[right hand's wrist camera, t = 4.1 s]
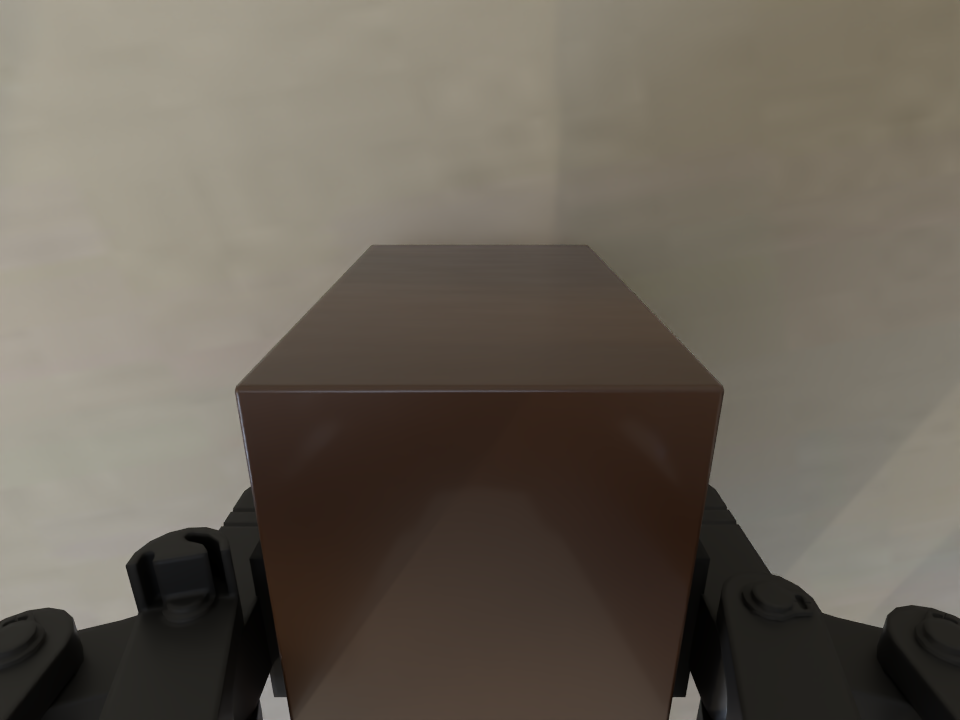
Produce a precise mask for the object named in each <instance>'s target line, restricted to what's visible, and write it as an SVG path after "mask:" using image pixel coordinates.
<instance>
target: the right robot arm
mask: <svg viewBox="0 0 960 720" xmlns="http://www.w3.org/2000/svg"><path fill="white" fill-rule="evenodd" d="M126 569H127V573H128V576H129V580H130V583H131V587H132V591H133V594H134V598H135V601H136V605H137V609H138V612H139V613H138V615H137V616H134V617H131V618H127V619H124V620H121V621H116V622H112V623H108V624H104V625H99V626H95V627H91V628H87V629H82V630H78V631H77V628H76V625H75V622H74V619H73V617H71V616H70V615H69V614H68V613H67V612H66V611H65V610H60V609H54V608H43V609H36V610H29V611H25V612H23V613H20V614H17V615H14V616H11V617H8V618H6V619H4V620H2V621H0V720H263V717H262V710H261V704H260V696H261V694H262V691H263V688H264V686H265V683H266V681H267V678H268V676H269V673H270V677H271V682H272V688H273V693H274V697H287V695H286V689H285V683H284V677H283V672H282V666H281V660H280V654H279V648H278V642H277V636H276V630H275V624H274V618H273V613H272V607H271V601H270V595H269V589H268V583H267V577H266V571H265V565H264V559H263V554H262V548H261V542H260V536H259V530H258V524H257V518H256V512H255V506H254V500H253V495H252V489H251V487H250V488H248V489H247V490H246V491H244V493H243V494H242V496H241V497H240V499H239V500H238V502H237V503H236V505H235V506H234V508H233V512H231V513H230V514H229V516H228V517H227V519H226V520H225V522H224V526H223V527H221V528H220V529H219V530H215V529H211V528H207V527H199V528H186V529H182V530H178V531H174V532H170V533H167V534H165V535H163V536H161V537H159V538H156V539H154V540H152V541H150V542H149V543H147V544H146V545H145V546H143V547H142V548H141V549H139V550H138V551H137V552H135V553H134V555H133V556H132V557H131V559H130V560H129V562H128V563H127V564H126ZM690 671H691V674H692V676H693V679H694V681H695V684H696V687H697V689H698V692H699V694H700V697H701V699H700V704H699V709H698V715H697V720H960V619H959V618H958V617H956V616H953V615H951V614H948V613H945V612H942V611H939V610H936V609H933V608H928V607H921V606H914V605H910V606H903V607H897V608H895V609H894V610H893V611H892V612H891V613H889V614H888V615H887V618H886V621H885V624H884V627H883V628H879V627H875V626H871V625H866V624H862V623H858V622H854V621H849V620H845V619H841V618H837V617H834V616H831V615H827V614H824V613H822V612H821V610H820V609H819V607H818V606H817V604H816V602H815V601H814V599H813V598H812V597H811V596H810V595H808V594H807V593H806V592H805V591H804V590H802V589H801V588H800V587H799V586H797V585H795V584H793V583H792V582H790V581H788V580H786V579H784V578H782V577H779V576H776V575H772V574H771V573H770V571H769V570H768V568H767V567H766V565H765V564H764V562H763V561H762V559H761V558H760V556H759V555H758V553H757V552H756V550H755V549H754V547H753V546H752V544H751V543H750V541H749V540H748V538H747V537H746V535H745V534H744V532H743V531H742V529H741V527H740V526H739V525H737V524H736V520H735V518H734V517H733V515H732V514H731V512H730V511H729V510H727V506H726V505H725V503H724V502H723V500H722V499H721V497H720V496H719V494H718V493H717V491H716V490H715V489H714V488H713V487H711V486H710V485H709V484H708V489H707V495H706V501H705V507H704V513H703V519H702V525H701V531H700V537H699V543H698V549H697V555H696V560H695V566H694V572H693V578H692V584H691V590H690V596H689V602H688V608H687V614H686V620H685V626H684V632H683V637H682V643H681V649H680V655H679V661H678V667H677V673H676V679H675V685H674V691H673V697H685V696H686V691H687V685H688V680H689V674H690Z"/></svg>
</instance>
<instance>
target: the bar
mask: <svg viewBox="0 0 960 720" xmlns="http://www.w3.org/2000/svg"><path fill="white" fill-rule="evenodd" d="M235 394H236V400H237V406H238V412H239V418H240V424H241V430H242V436H243V441H244V447H245V453H246V459H247V465H248V471H249V477H250V483H251V489H252V495H253V500H254V506H255V512H256V518H257V524H258V530H259V536H260V542H261V548H262V554H263V559H264V565H265V571H266V577H267V583H268V589H269V595H270V601H271V607H272V613H273V618H274V624H275V630H276V636H277V642H278V648H279V654H280V660H281V666H282V672H283V677H284V683H285V689H286V695H287V701H288V707H289V713H290V719H291V720H669V714H670V709H671V703H672V697H673V691H674V685H675V679H676V673H677V667H678V661H679V655H680V649H681V643H682V637H683V632H684V626H685V620H686V614H687V608H688V602H689V596H690V590H691V584H692V578H693V572H694V566H695V560H696V555H697V549H698V543H699V537H700V531H701V525H702V519H703V513H704V507H705V501H706V495H707V489H708V483H709V477H710V472H711V466H712V460H713V454H714V448H715V442H716V436H717V430H718V424H719V418H720V412H721V406H722V400H723V395H724V389H723V386H722V385H721V384H720V383H719V382H718V381H717V380H716V379H715V377H714V376H713V375H712V374H711V373H710V372H709V371H708V370H707V369H706V368H705V367H704V366H703V365H702V364H701V363H700V362H699V361H698V360H697V359H696V358H695V357H694V356H693V355H692V353H691V352H690V351H689V350H688V349H687V348H686V347H685V346H684V345H683V344H682V343H681V342H680V341H679V340H678V339H677V338H676V337H675V336H674V335H673V334H672V333H671V332H670V331H669V329H668V328H667V327H666V326H665V325H664V324H663V323H662V322H661V321H660V320H659V319H658V318H657V317H656V316H655V315H654V314H653V313H652V312H651V311H650V310H649V309H648V308H647V307H646V305H645V304H644V303H643V302H642V301H641V300H640V299H639V298H638V297H637V296H636V295H635V294H634V293H633V292H632V291H631V290H630V289H629V288H628V287H627V286H626V285H625V284H624V283H623V281H622V280H621V279H620V278H619V277H618V276H617V275H616V274H615V273H614V272H613V271H612V270H611V269H610V268H609V267H608V266H607V265H606V264H605V263H604V262H603V261H602V260H601V259H600V257H599V256H598V255H597V254H596V253H595V252H594V251H593V250H592V249H591V248H590V247H589V246H588V245H372V246H371V247H370V248H369V249H368V250H367V251H366V252H365V253H364V254H363V255H362V256H361V257H360V258H359V259H358V260H357V261H356V262H355V263H354V264H353V265H352V266H351V267H350V268H349V269H348V270H347V271H346V273H345V274H344V275H343V276H342V277H341V278H340V279H339V280H338V281H337V282H336V283H335V284H334V285H333V286H332V287H331V288H330V289H329V290H328V291H327V292H326V293H325V294H324V295H323V296H322V297H321V299H320V300H319V301H318V302H317V303H316V304H315V305H314V306H313V307H312V308H311V309H310V310H309V311H308V312H307V313H306V314H305V315H304V316H303V317H302V318H301V319H300V320H299V321H298V322H297V323H296V325H295V326H294V327H293V328H292V329H291V330H290V331H289V332H288V333H287V334H286V335H285V336H284V337H283V338H282V339H281V340H280V341H279V342H278V343H277V344H276V345H275V346H274V347H273V348H272V349H271V351H270V352H269V353H268V354H267V355H266V356H265V357H264V358H263V359H262V360H261V361H260V362H259V363H258V364H257V365H256V366H255V367H254V368H253V369H252V370H251V371H250V372H249V373H248V374H247V376H246V377H245V378H244V379H243V380H242V381H241V382H240V383H239V384H238V385H237V386H236V389H235Z"/></svg>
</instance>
